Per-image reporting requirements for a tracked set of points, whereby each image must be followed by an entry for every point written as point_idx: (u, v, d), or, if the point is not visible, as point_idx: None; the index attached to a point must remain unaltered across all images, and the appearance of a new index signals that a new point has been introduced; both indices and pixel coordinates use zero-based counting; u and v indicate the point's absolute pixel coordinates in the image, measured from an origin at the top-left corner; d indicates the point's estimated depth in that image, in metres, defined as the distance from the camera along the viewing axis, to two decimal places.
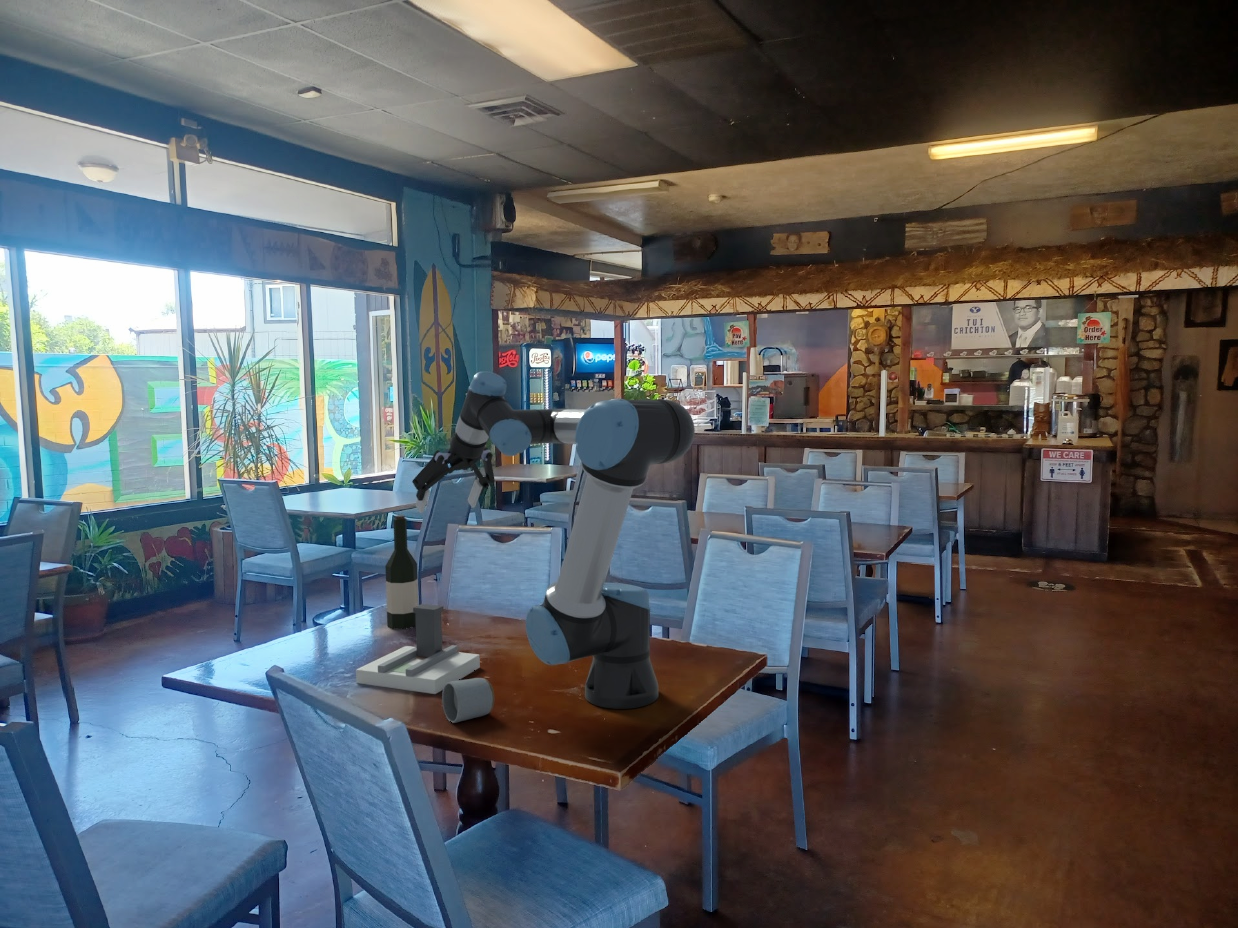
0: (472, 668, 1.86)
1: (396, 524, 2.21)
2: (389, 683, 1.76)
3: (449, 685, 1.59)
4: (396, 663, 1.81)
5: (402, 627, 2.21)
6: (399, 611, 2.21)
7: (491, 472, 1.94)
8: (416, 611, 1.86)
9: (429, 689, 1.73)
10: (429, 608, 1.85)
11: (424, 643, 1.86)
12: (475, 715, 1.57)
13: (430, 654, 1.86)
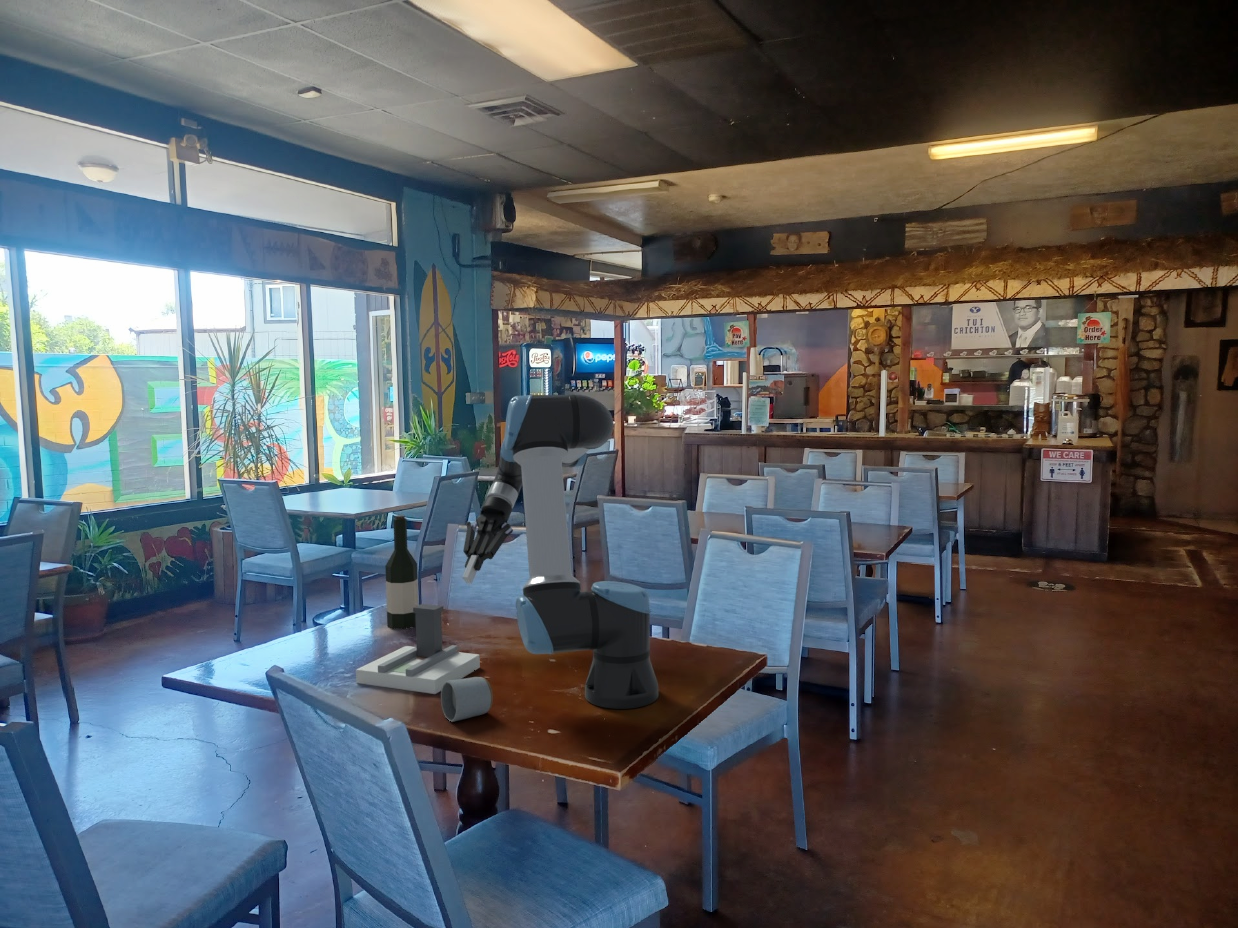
0: (472, 668, 1.86)
1: (396, 524, 2.21)
2: (389, 683, 1.76)
3: (448, 684, 1.60)
4: (396, 663, 1.81)
5: (402, 627, 2.21)
6: (399, 611, 2.21)
7: (494, 542, 2.07)
8: (416, 611, 1.86)
9: (429, 689, 1.73)
10: (429, 608, 1.85)
11: (424, 643, 1.86)
12: (473, 714, 1.58)
13: (430, 654, 1.86)
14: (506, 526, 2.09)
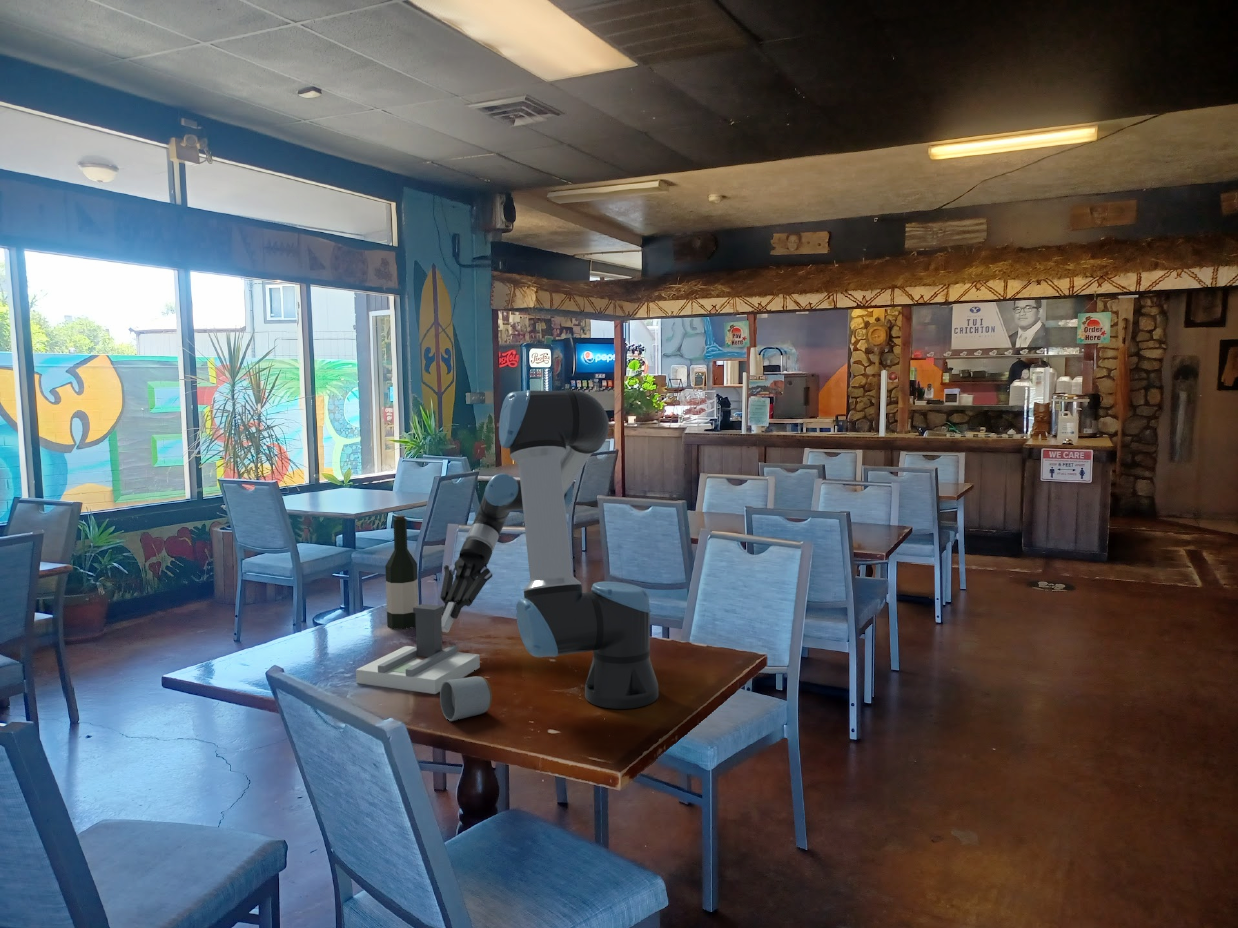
0: (472, 668, 1.86)
1: (396, 524, 2.21)
2: (389, 683, 1.76)
3: (447, 683, 1.60)
4: (396, 663, 1.81)
5: (402, 627, 2.21)
6: (399, 611, 2.21)
7: (472, 588, 1.97)
8: (416, 611, 1.86)
9: (429, 689, 1.73)
10: (429, 608, 1.85)
11: (424, 643, 1.86)
12: (472, 713, 1.58)
13: (430, 654, 1.86)
14: (485, 571, 2.00)
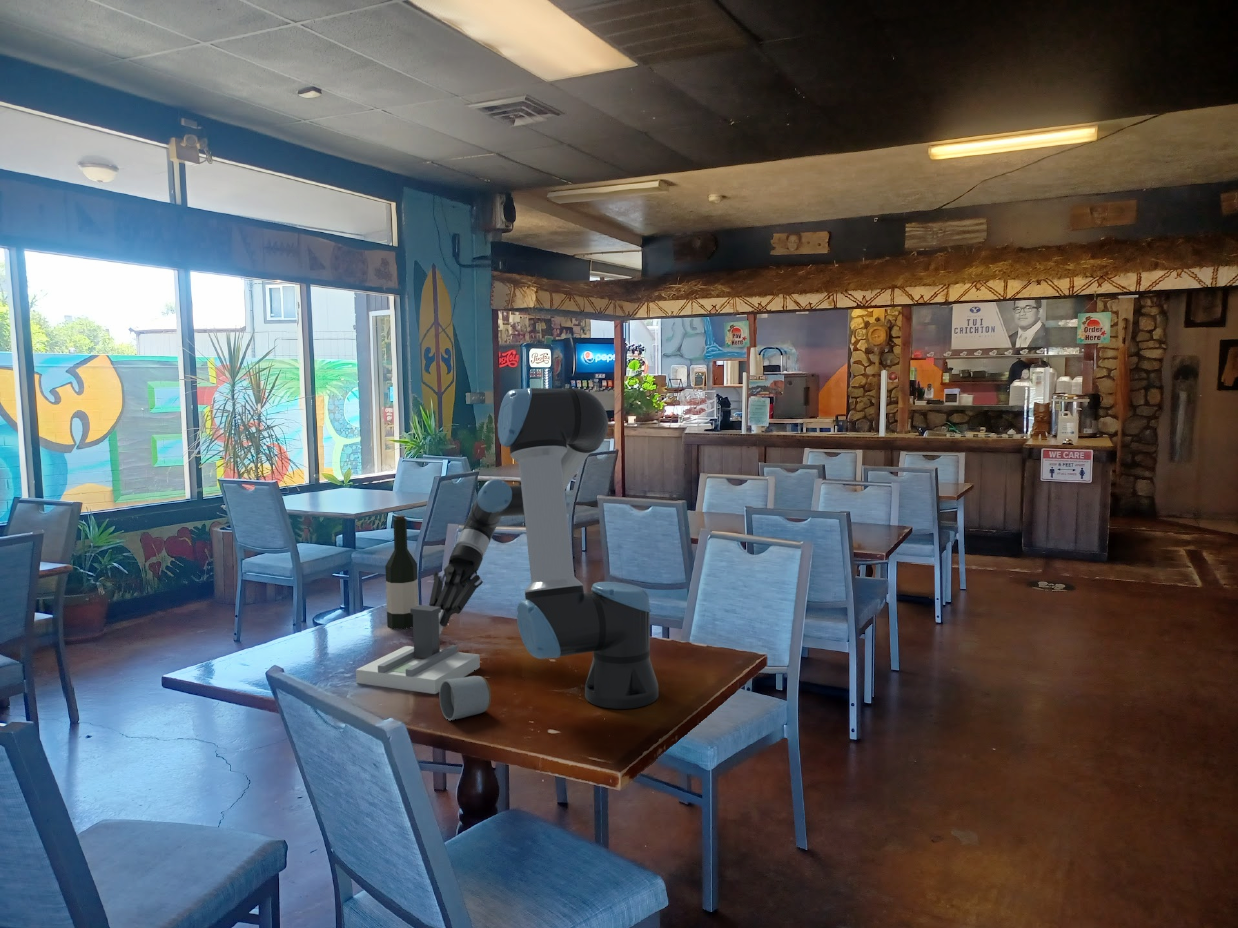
0: (472, 668, 1.86)
1: (396, 524, 2.21)
2: (389, 683, 1.76)
3: (446, 683, 1.61)
4: (396, 663, 1.81)
5: (402, 627, 2.21)
6: (399, 611, 2.21)
7: (462, 595, 1.93)
8: (413, 612, 1.85)
9: (429, 689, 1.73)
10: (426, 609, 1.84)
11: (422, 645, 1.85)
12: (472, 713, 1.59)
13: (427, 655, 1.85)
14: (475, 577, 1.96)
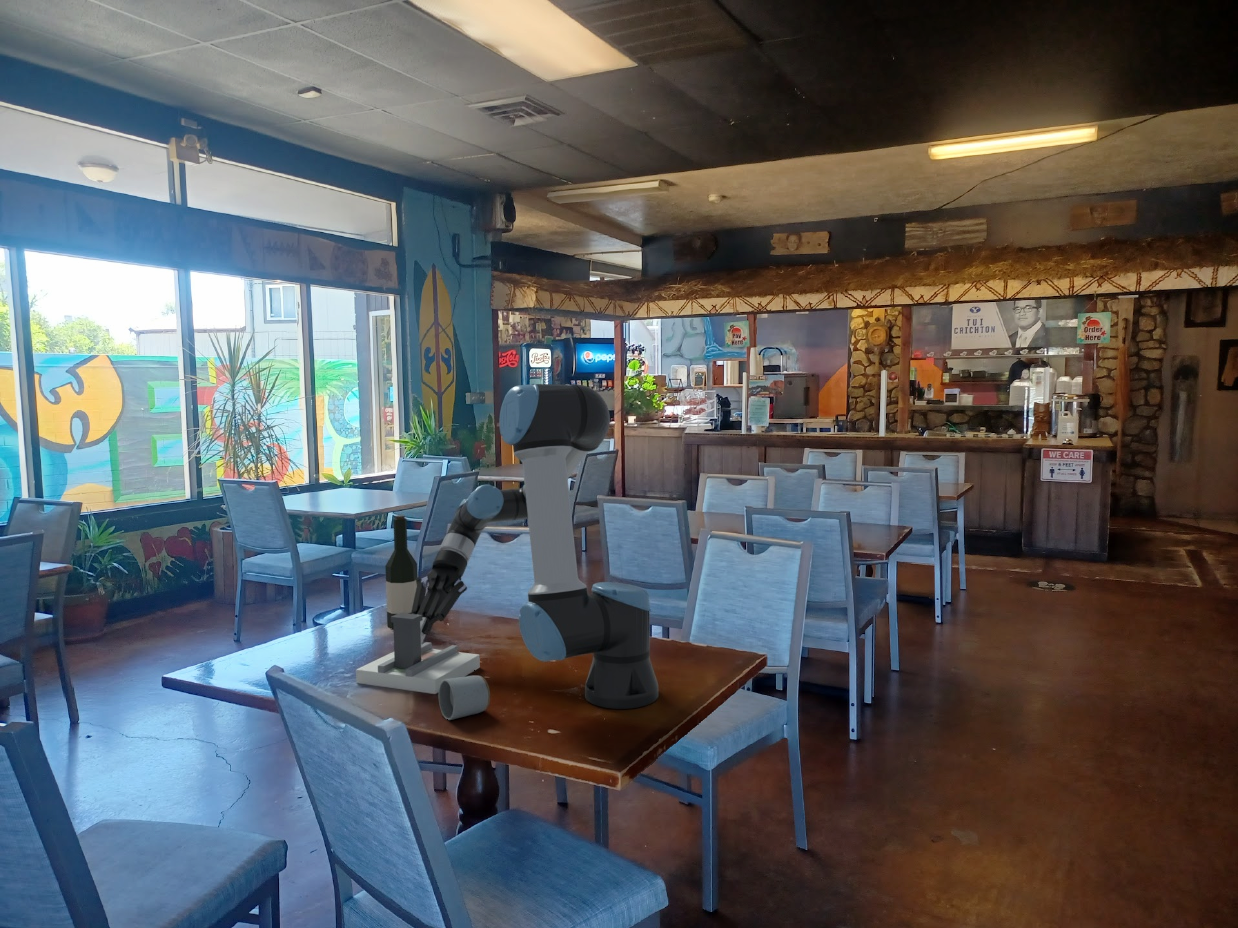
0: (472, 668, 1.86)
1: (396, 524, 2.21)
2: (389, 683, 1.76)
3: (445, 682, 1.61)
4: None
5: None
6: (399, 611, 2.21)
7: (445, 602, 1.87)
8: (394, 620, 1.78)
9: (429, 689, 1.73)
10: (407, 617, 1.78)
11: (402, 654, 1.79)
12: (471, 712, 1.59)
13: (408, 665, 1.78)
14: (459, 584, 1.89)
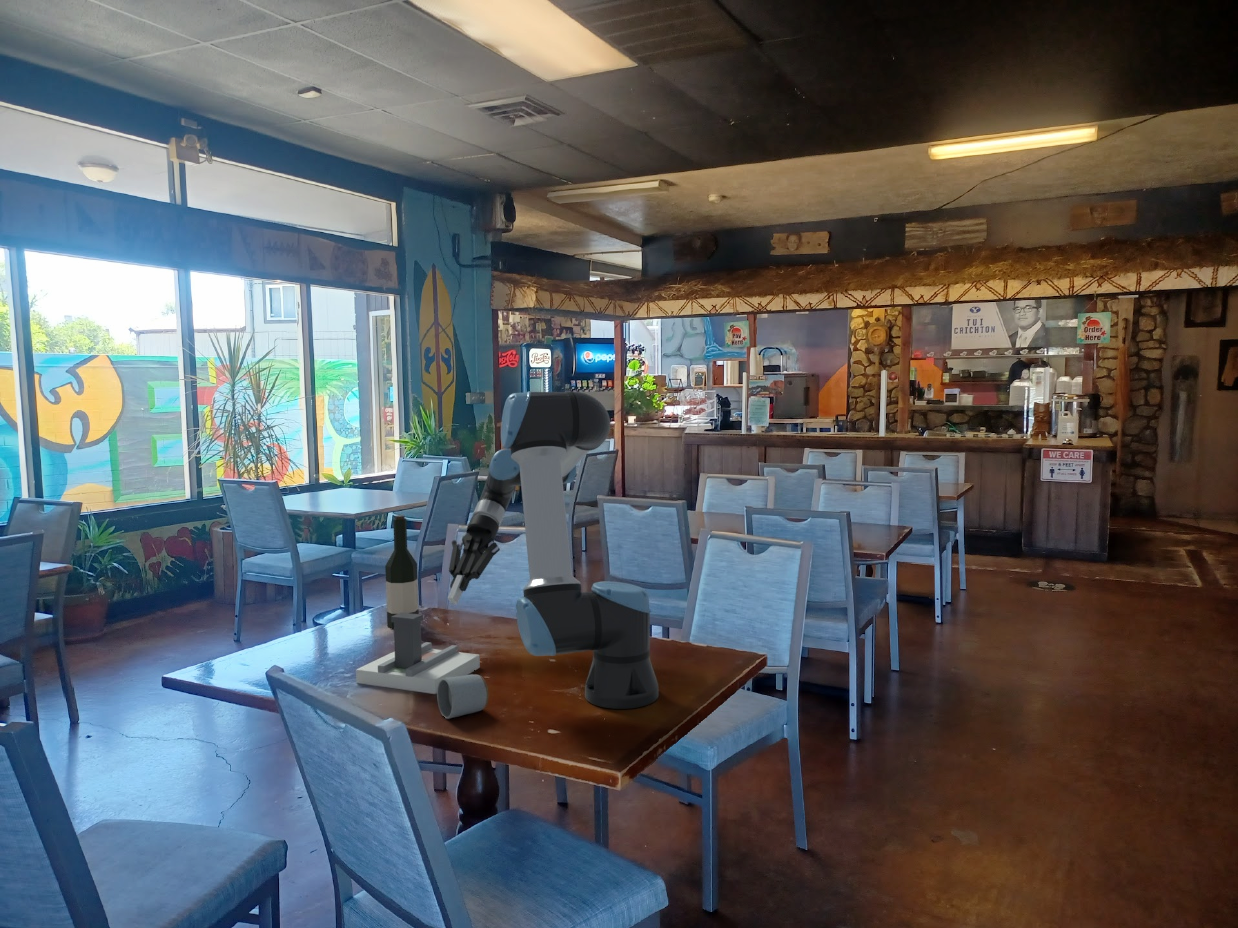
0: (472, 668, 1.86)
1: (396, 524, 2.21)
2: (389, 683, 1.76)
3: (444, 681, 1.62)
4: None
5: None
6: (399, 611, 2.21)
7: (480, 561, 2.02)
8: (394, 620, 1.78)
9: (429, 689, 1.73)
10: (408, 617, 1.78)
11: (403, 654, 1.79)
12: (469, 711, 1.59)
13: (409, 665, 1.78)
14: (493, 545, 2.04)
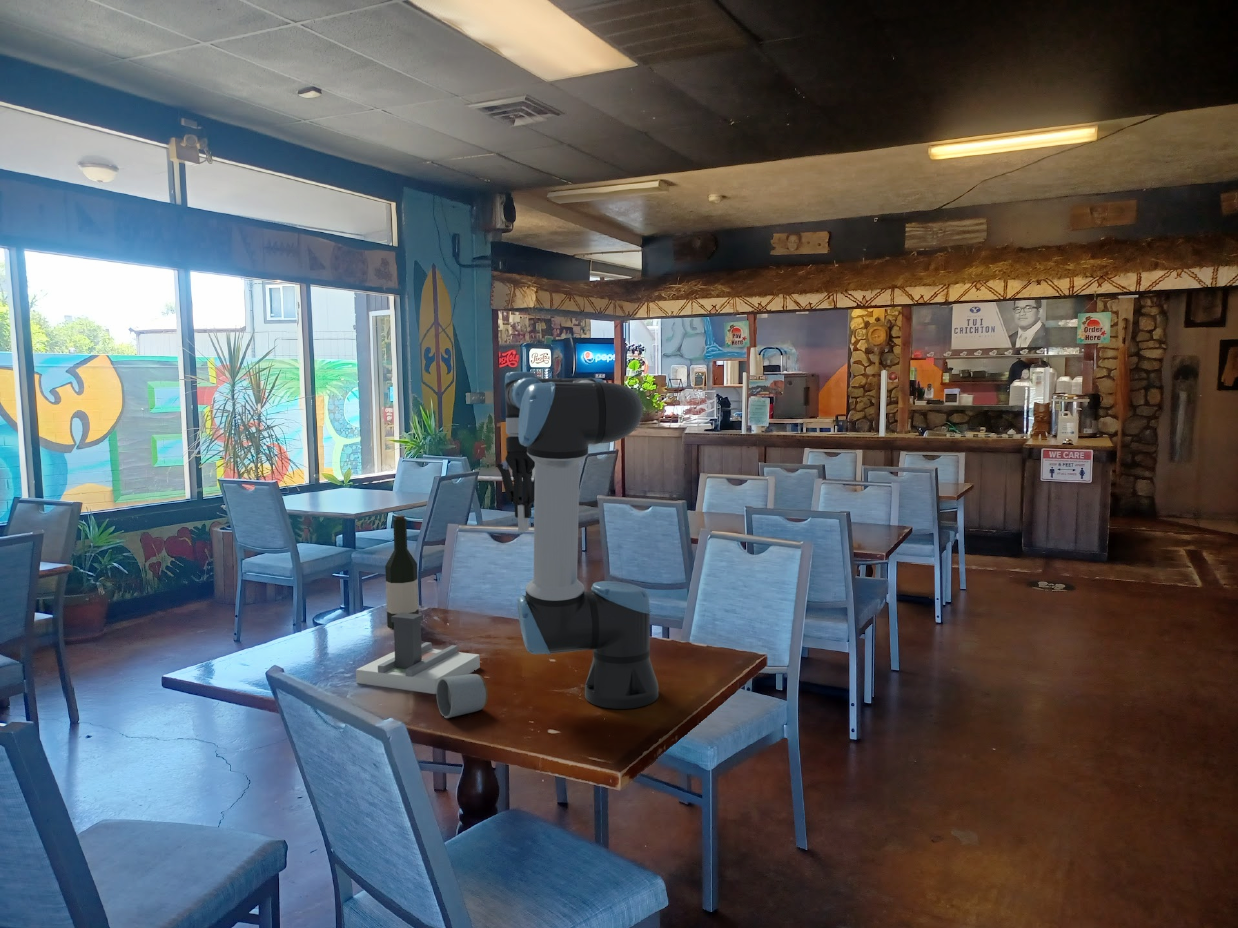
0: (472, 668, 1.86)
1: (396, 524, 2.21)
2: (389, 683, 1.76)
3: (443, 681, 1.62)
4: None
5: None
6: (399, 611, 2.21)
7: (534, 487, 2.01)
8: (394, 620, 1.78)
9: (429, 689, 1.73)
10: (408, 617, 1.78)
11: (403, 654, 1.79)
12: (468, 710, 1.60)
13: (409, 665, 1.78)
14: None
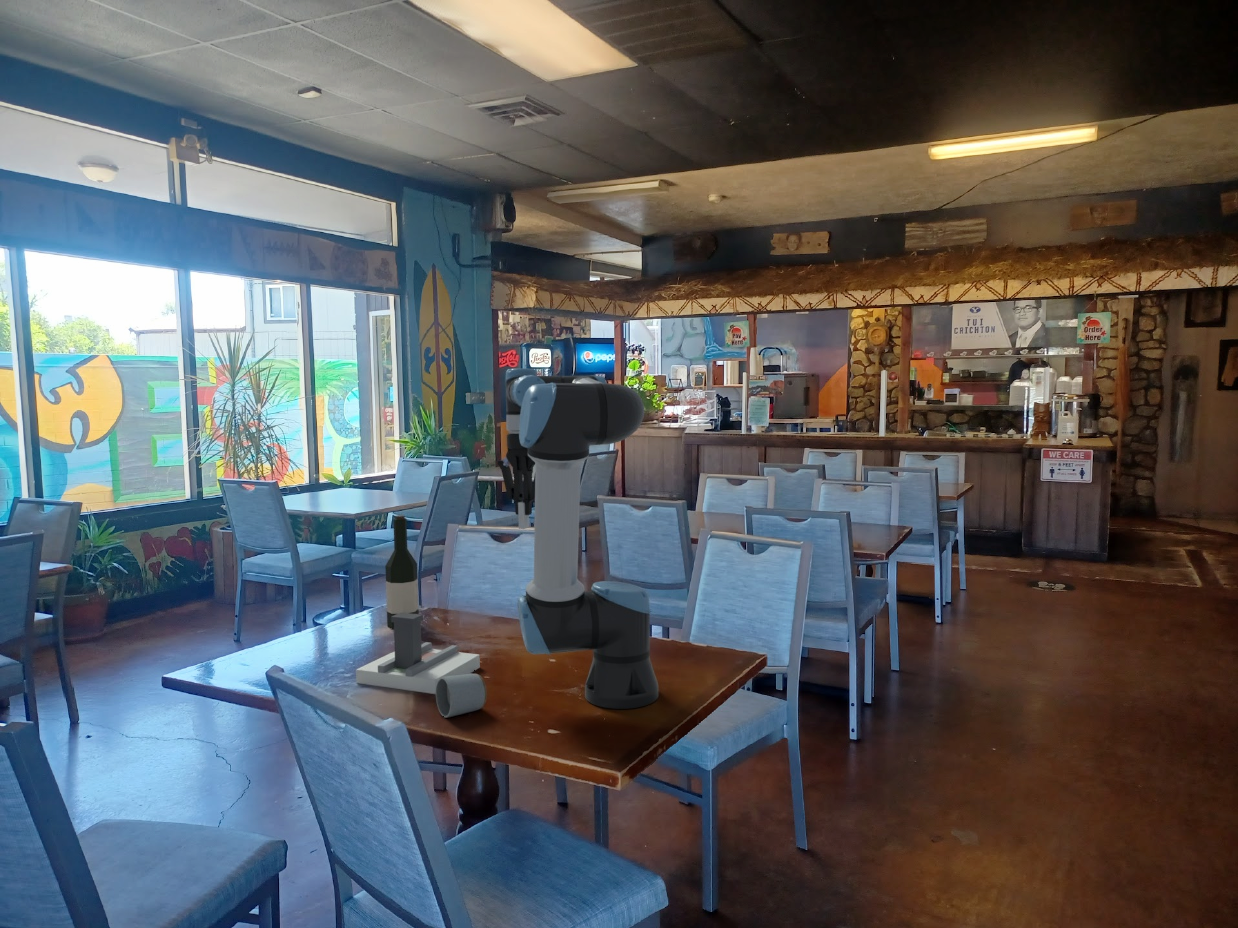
0: (472, 668, 1.86)
1: (396, 524, 2.21)
2: (389, 683, 1.76)
3: (442, 680, 1.62)
4: None
5: None
6: (399, 611, 2.21)
7: None
8: (394, 620, 1.78)
9: (429, 689, 1.73)
10: (408, 617, 1.78)
11: (403, 654, 1.79)
12: (468, 710, 1.60)
13: (409, 665, 1.78)
14: None
